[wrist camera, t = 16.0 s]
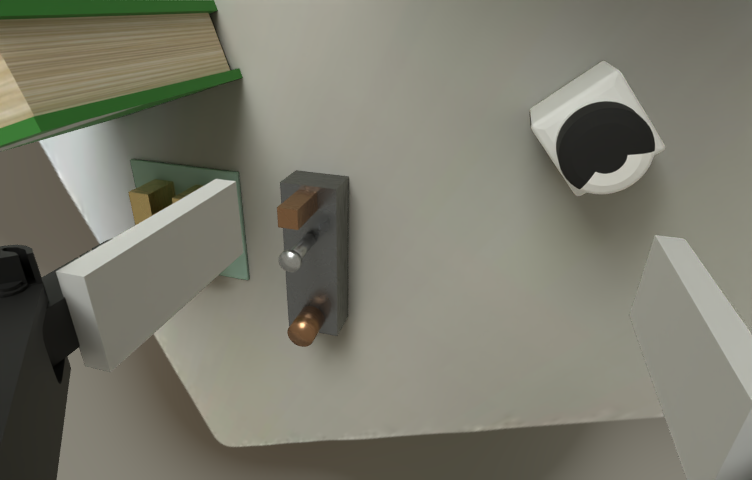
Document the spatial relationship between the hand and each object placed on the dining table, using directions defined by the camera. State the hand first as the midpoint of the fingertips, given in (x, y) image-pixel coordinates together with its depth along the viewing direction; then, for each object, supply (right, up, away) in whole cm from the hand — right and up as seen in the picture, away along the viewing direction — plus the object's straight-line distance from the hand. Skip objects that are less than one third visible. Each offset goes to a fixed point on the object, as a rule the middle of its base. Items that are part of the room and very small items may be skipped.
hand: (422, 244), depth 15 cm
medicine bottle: (+17, +11, +28) cm, 34 cm away
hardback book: (-24, +19, +36) cm, 47 cm away
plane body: (-8, -1, +40) cm, 41 cm away
